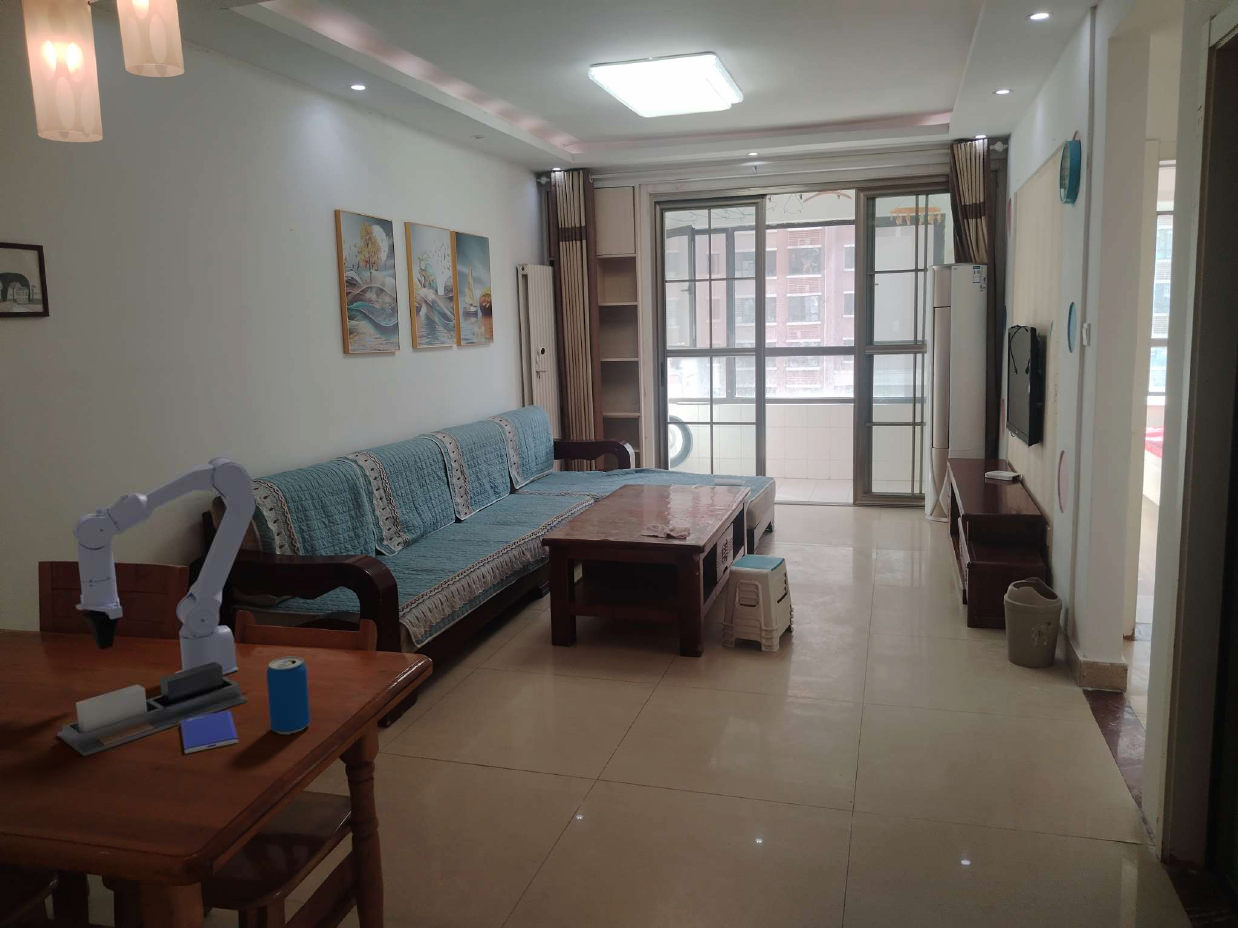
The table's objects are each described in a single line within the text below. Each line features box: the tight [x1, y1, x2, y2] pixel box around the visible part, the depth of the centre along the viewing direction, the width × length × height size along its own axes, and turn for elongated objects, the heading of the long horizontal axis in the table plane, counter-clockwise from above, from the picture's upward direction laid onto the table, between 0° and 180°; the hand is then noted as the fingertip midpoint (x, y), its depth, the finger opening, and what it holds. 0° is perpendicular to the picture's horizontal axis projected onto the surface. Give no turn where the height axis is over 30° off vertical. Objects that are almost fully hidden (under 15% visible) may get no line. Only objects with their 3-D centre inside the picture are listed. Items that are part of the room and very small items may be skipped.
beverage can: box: [266, 656, 311, 735], centre depth 157 cm, size 6×6×12 cm
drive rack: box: [57, 662, 249, 757], centre depth 162 cm, size 28×12×7 cm, turn 140°
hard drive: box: [180, 710, 239, 754], centre depth 156 cm, size 2×8×12 cm
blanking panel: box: [75, 684, 147, 734], centre depth 157 cm, size 10×3×6 cm, turn 140°
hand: (105, 647), depth 172 cm, fingers closed
